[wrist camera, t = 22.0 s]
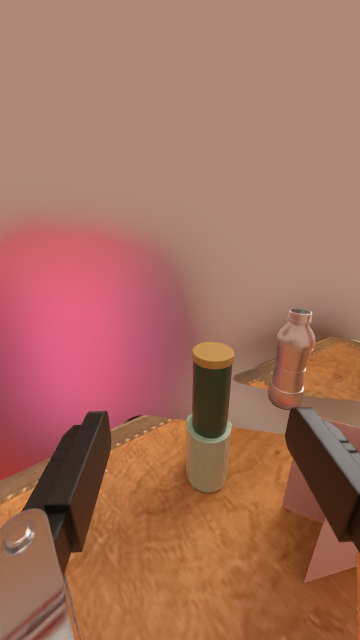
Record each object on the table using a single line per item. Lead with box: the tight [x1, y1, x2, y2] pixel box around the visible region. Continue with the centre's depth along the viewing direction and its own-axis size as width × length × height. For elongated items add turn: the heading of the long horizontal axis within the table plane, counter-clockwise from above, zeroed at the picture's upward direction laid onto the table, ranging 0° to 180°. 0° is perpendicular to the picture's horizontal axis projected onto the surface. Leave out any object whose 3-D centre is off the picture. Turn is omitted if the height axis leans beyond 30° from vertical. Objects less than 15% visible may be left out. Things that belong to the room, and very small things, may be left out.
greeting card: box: [282, 418, 360, 583], centre depth 22 cm, size 11×7×15 cm, turn 66°
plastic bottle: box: [268, 308, 315, 410], centre depth 44 cm, size 6×7×20 cm
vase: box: [186, 413, 232, 493], centre depth 32 cm, size 6×6×9 cm
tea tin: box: [192, 342, 234, 438], centre depth 28 cm, size 5×5×11 cm
